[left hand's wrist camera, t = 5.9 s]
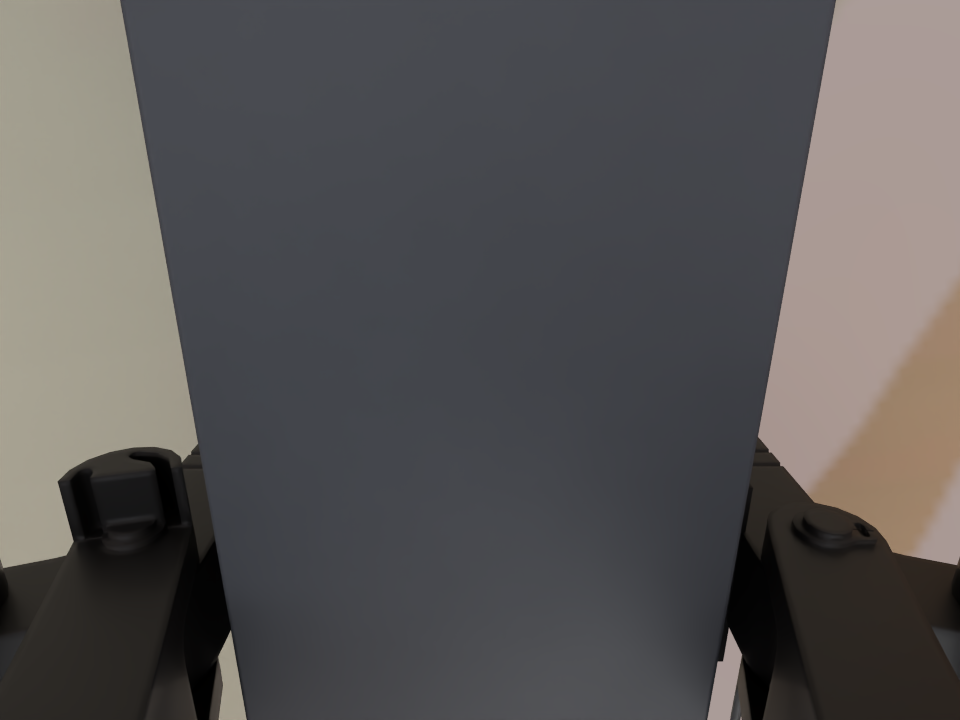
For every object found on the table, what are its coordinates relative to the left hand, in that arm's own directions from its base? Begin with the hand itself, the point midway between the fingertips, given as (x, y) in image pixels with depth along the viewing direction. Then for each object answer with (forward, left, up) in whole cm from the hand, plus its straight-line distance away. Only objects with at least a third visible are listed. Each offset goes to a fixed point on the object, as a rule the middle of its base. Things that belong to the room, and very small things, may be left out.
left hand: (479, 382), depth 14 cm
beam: (+25, +5, -1) cm, 26 cm away
